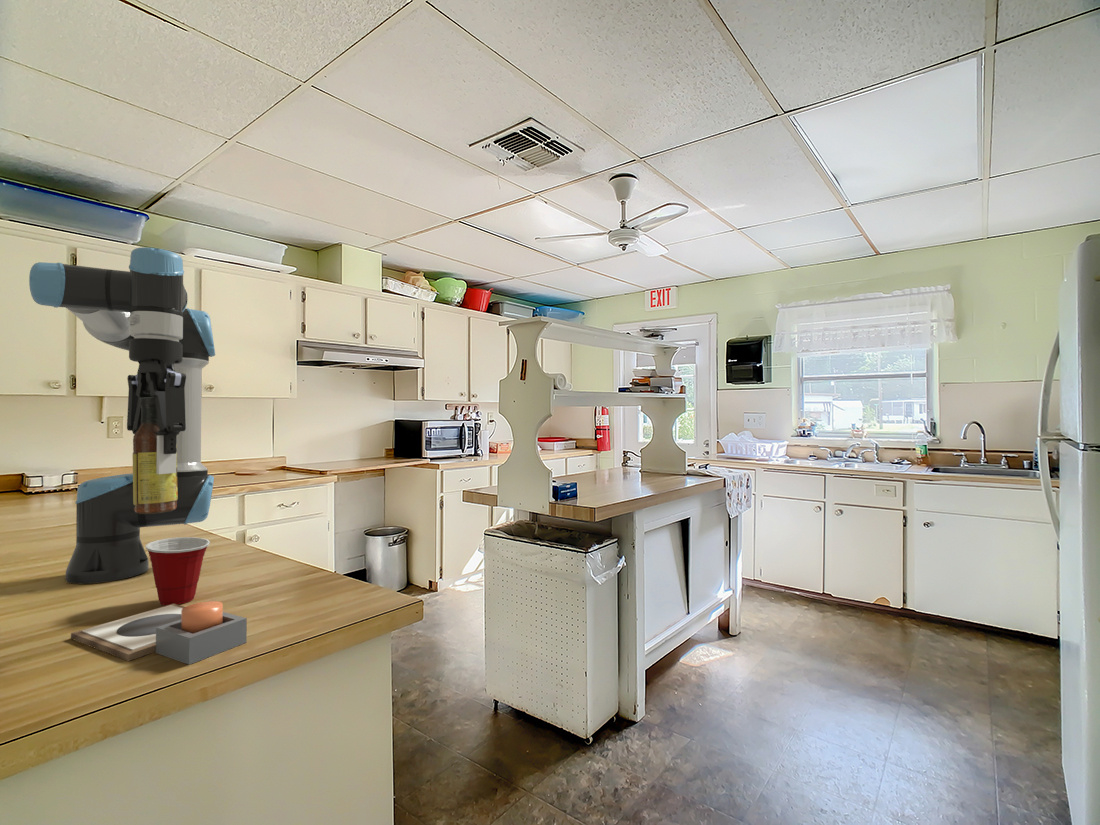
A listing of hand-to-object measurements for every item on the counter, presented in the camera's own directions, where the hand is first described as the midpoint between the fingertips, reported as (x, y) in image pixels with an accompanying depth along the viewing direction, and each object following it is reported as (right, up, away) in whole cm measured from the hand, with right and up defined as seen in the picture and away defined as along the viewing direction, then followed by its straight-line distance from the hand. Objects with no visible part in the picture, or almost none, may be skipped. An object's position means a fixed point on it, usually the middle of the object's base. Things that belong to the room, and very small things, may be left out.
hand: (155, 472), depth 93 cm
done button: (+12, -25, -7) cm, 28 cm away
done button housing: (+12, -28, -7) cm, 31 cm away
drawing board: (0, -28, 0) cm, 28 cm away
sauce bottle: (0, -7, 0) cm, 7 cm away
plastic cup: (-7, -28, +15) cm, 33 cm away
